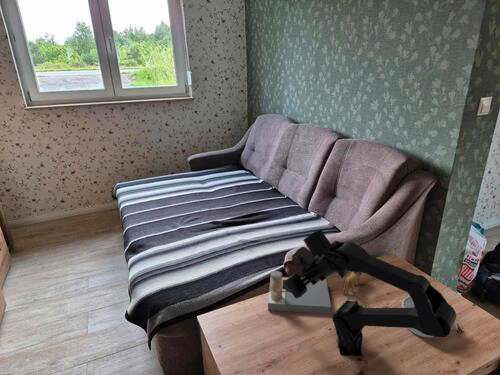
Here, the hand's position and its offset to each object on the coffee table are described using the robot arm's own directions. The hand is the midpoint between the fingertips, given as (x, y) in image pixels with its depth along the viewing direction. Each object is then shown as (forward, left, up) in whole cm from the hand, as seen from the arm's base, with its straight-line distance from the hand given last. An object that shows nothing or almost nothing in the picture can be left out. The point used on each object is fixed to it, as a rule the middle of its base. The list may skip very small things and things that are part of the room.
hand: (294, 283), depth 103 cm
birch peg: (+6, -5, -10) cm, 13 cm away
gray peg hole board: (-2, -10, -13) cm, 17 cm away
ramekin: (-42, +1, -14) cm, 44 cm away
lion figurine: (-23, -17, -14) cm, 32 cm away
